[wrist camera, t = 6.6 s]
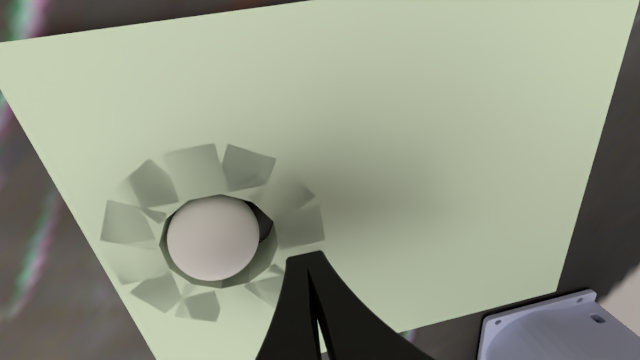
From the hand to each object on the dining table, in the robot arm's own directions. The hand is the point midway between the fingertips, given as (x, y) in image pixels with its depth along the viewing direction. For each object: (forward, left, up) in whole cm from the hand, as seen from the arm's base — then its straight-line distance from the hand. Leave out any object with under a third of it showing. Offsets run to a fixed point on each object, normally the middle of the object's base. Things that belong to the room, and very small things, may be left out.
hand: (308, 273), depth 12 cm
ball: (+4, 0, -4) cm, 5 cm away
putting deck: (-3, 0, -6) cm, 6 cm away
